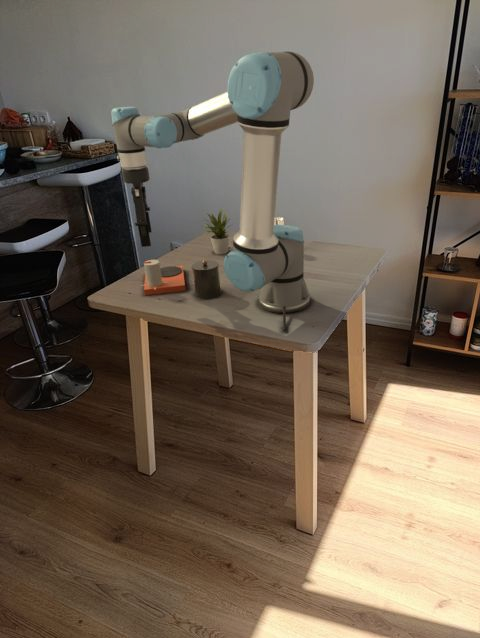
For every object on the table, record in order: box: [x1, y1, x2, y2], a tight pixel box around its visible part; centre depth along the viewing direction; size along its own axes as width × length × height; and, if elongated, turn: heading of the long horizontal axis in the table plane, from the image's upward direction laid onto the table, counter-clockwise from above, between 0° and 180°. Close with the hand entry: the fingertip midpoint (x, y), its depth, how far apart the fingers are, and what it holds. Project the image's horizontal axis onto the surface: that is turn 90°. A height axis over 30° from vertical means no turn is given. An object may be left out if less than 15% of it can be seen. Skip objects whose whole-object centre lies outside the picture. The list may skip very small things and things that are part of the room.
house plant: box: [201, 208, 232, 255], centre depth 183 cm, size 14×14×16 cm
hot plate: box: [141, 264, 187, 296], centre depth 162 cm, size 19×14×2 cm
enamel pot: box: [191, 259, 222, 300], centre depth 150 cm, size 8×8×11 cm
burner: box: [160, 265, 182, 277], centre depth 165 cm, size 9×9×1 cm
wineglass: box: [274, 216, 286, 225], centre depth 182 cm, size 6×6×12 cm
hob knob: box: [143, 259, 163, 287], centre depth 154 cm, size 5×5×8 cm
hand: (146, 239), depth 149 cm, fingers open, 13 cm apart
